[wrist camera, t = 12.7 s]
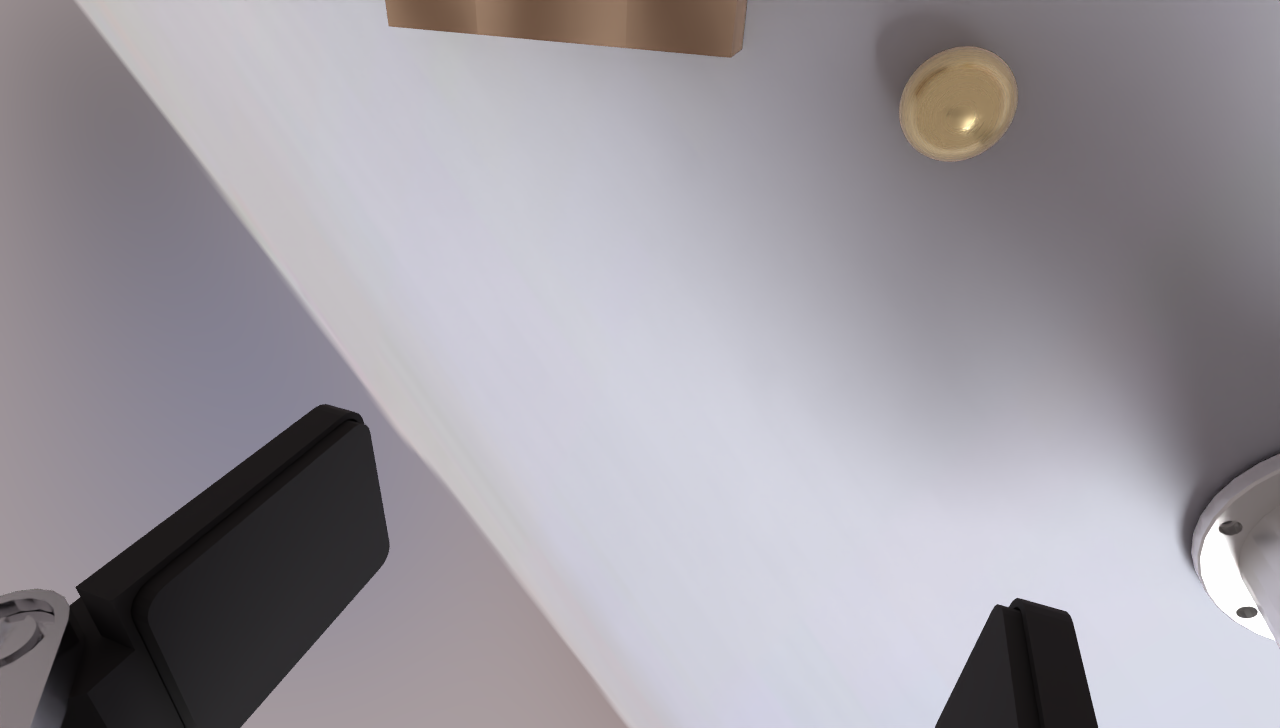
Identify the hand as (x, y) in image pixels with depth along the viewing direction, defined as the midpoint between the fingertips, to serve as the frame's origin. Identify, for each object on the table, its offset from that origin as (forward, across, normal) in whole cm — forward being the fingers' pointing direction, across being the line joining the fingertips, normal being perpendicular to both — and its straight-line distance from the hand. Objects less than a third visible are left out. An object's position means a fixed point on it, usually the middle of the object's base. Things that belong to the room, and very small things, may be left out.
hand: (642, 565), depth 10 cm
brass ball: (+22, -4, -3) cm, 23 cm away
